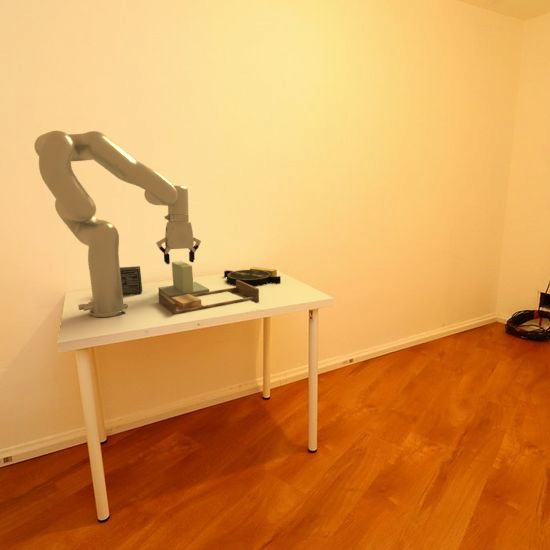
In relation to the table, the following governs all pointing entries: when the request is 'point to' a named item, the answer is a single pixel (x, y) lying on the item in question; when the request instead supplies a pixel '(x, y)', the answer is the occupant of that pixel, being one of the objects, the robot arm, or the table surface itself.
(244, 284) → the frame
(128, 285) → the small box
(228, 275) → the decorative sign
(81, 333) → the table surface
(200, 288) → the grey board
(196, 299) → the upper offcut
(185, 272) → the pale green block
